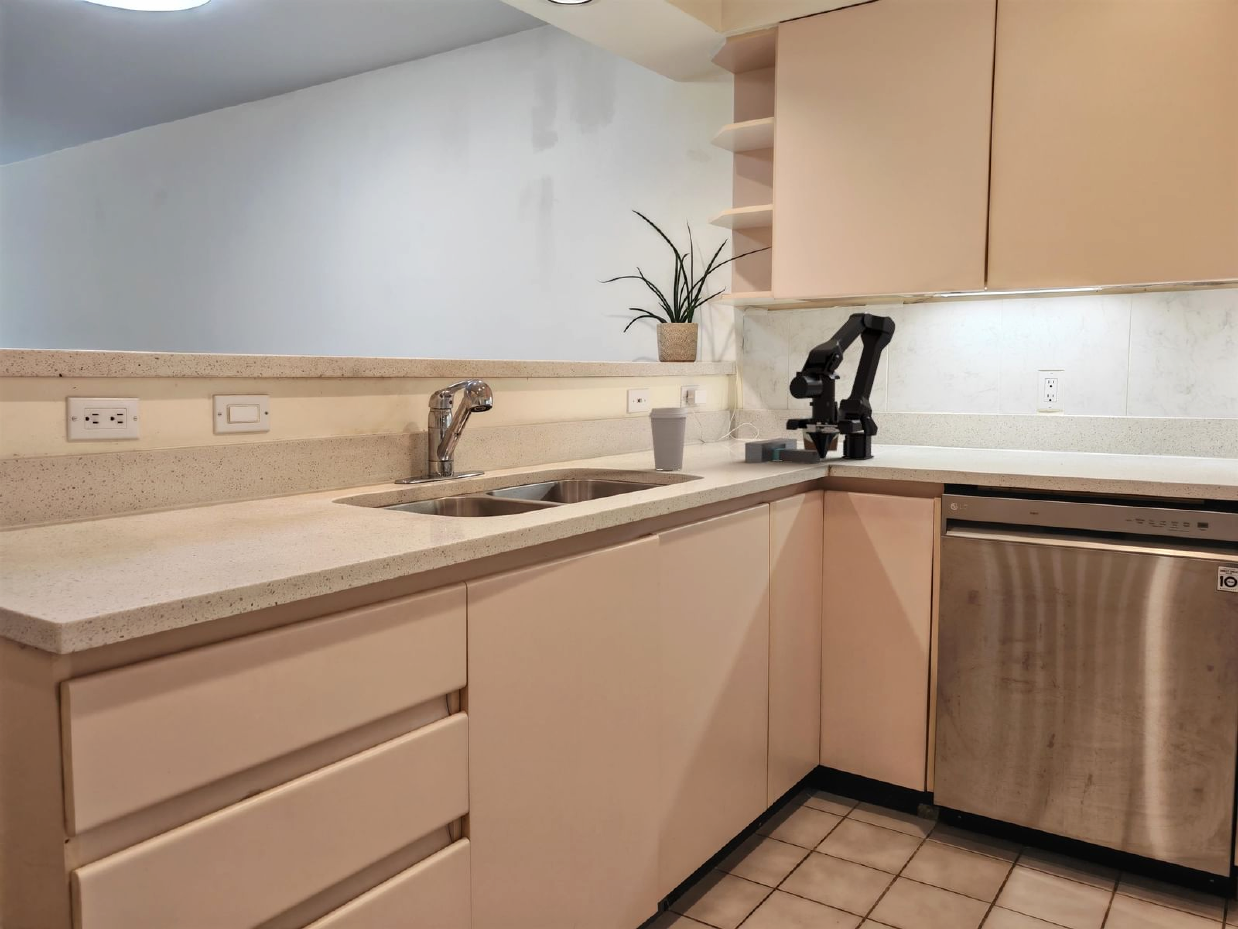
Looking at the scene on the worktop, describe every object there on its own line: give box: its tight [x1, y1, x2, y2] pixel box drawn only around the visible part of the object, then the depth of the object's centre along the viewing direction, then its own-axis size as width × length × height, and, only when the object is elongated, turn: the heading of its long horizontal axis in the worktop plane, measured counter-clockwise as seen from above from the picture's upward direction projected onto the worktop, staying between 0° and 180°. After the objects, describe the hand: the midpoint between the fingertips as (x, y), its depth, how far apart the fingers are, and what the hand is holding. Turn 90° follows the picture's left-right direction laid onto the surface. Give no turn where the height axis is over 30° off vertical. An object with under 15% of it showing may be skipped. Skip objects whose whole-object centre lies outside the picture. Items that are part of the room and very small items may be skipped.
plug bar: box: [774, 448, 822, 464], centre depth 237 cm, size 13×4×3 cm, turn 48°
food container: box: [800, 415, 840, 452], centre depth 266 cm, size 12×6×10 cm, turn 84°
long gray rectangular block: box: [744, 437, 798, 463], centre depth 242 cm, size 5×18×5 cm, turn 139°
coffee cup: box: [648, 407, 689, 471], centre depth 221 cm, size 10×10×15 cm
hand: (822, 458), depth 232 cm, fingers closed
